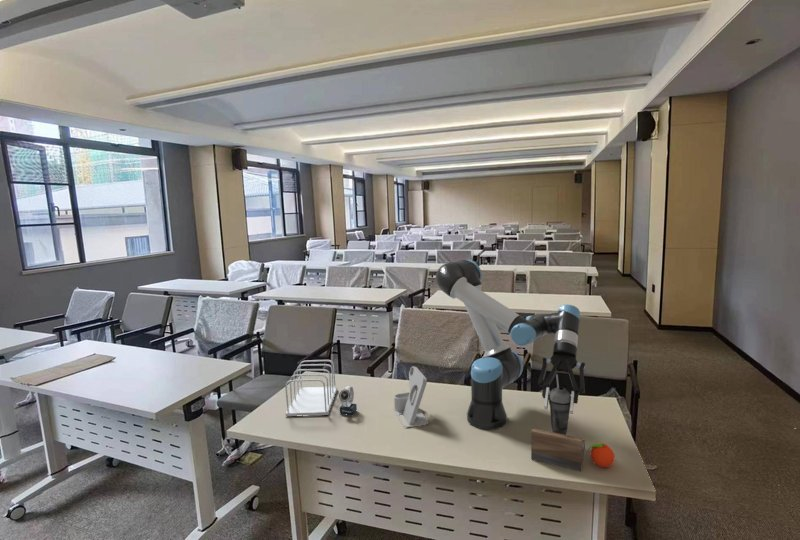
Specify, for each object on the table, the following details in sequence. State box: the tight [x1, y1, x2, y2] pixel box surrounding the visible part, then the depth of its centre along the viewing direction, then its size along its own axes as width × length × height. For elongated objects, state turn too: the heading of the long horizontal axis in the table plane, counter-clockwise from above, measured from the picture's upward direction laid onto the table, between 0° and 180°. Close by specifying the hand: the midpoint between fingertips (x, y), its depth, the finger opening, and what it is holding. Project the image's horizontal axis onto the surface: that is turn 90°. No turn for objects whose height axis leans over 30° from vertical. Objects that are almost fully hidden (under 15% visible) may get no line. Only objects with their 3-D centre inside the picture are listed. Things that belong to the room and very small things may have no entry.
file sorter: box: [284, 359, 338, 417], centre depth 185 cm, size 25×17×16 cm
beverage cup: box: [548, 374, 571, 435], centre depth 140 cm, size 7×7×20 cm
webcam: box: [338, 385, 358, 416], centre depth 175 cm, size 6×8×11 cm
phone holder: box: [393, 366, 429, 428], centre depth 170 cm, size 17×10×18 cm, turn 15°
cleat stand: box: [530, 428, 586, 472], centre depth 142 cm, size 14×15×10 cm
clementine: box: [587, 442, 616, 468], centre depth 135 cm, size 8×7×7 cm
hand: (558, 410), depth 137 cm, fingers closed on beverage cup, 7 cm apart
